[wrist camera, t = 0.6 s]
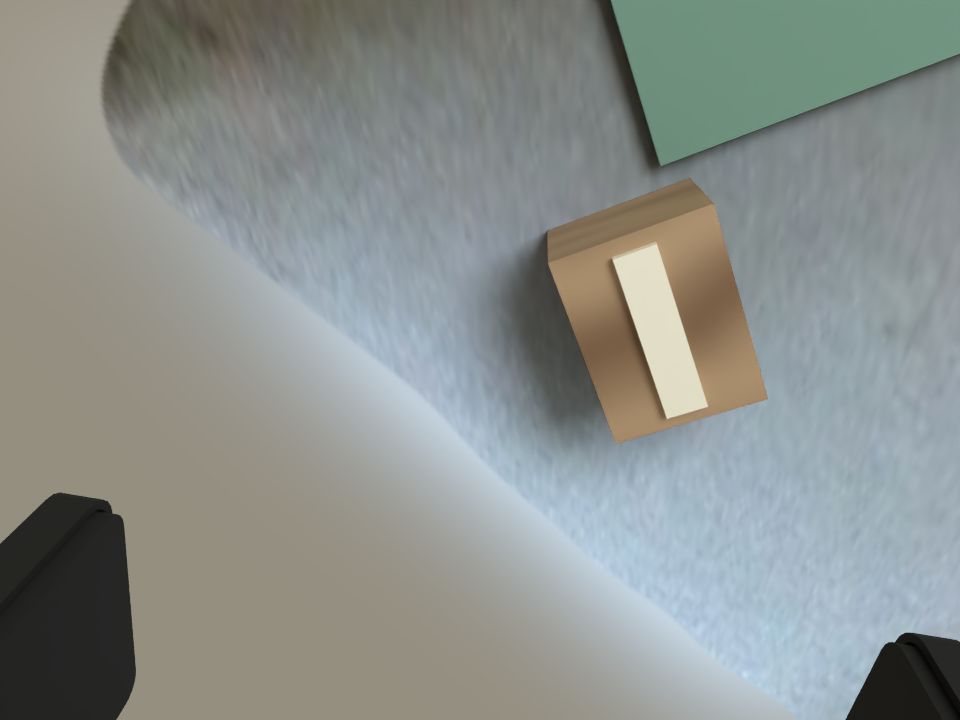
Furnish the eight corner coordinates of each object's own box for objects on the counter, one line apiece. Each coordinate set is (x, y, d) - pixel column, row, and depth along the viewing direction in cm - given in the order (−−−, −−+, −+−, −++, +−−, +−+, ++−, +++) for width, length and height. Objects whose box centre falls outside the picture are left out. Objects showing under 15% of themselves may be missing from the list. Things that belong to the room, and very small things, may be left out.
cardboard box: (739, 350, 32) (770, 402, 28) (607, 392, 33) (616, 447, 29) (689, 177, 29) (715, 205, 25) (547, 230, 30) (547, 265, 26)
